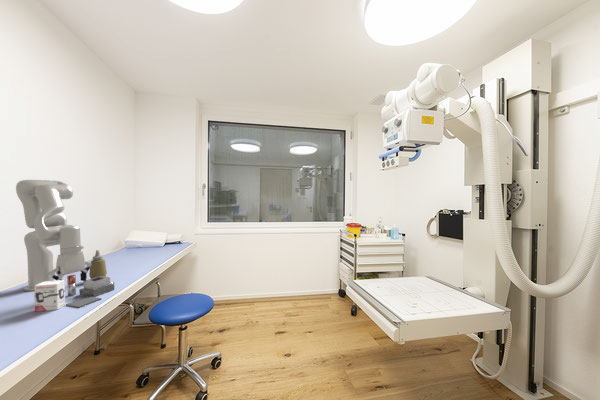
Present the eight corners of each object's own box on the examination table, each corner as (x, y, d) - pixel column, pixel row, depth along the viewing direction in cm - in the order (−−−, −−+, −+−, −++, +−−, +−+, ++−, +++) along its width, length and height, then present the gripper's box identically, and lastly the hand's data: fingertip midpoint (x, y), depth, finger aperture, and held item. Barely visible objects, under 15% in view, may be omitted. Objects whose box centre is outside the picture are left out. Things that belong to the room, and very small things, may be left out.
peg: (66, 296, 118) (65, 276, 118) (73, 293, 121) (72, 274, 121) (70, 296, 117) (69, 276, 117) (77, 294, 120) (76, 274, 120)
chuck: (79, 295, 119) (79, 281, 119) (106, 285, 131) (106, 273, 131) (93, 297, 116) (92, 283, 116) (119, 287, 128) (119, 274, 128)
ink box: (34, 312, 102) (33, 285, 101) (43, 307, 106) (42, 281, 106) (57, 309, 103) (56, 283, 103) (66, 304, 108) (65, 279, 108)
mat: (66, 305, 108) (65, 304, 108) (88, 297, 116) (88, 296, 116) (79, 308, 105) (79, 306, 105) (101, 299, 114) (101, 298, 114)
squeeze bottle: (109, 279, 142) (108, 249, 141) (92, 283, 135) (91, 252, 135) (104, 276, 146) (103, 248, 146) (87, 281, 139) (86, 251, 139)
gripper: (85, 246, 128) (86, 277, 128) (43, 254, 111) (44, 290, 112) (95, 247, 126) (96, 278, 126) (53, 254, 109) (55, 291, 109)
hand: (72, 283), depth 119 cm, fingers open, 9 cm apart
